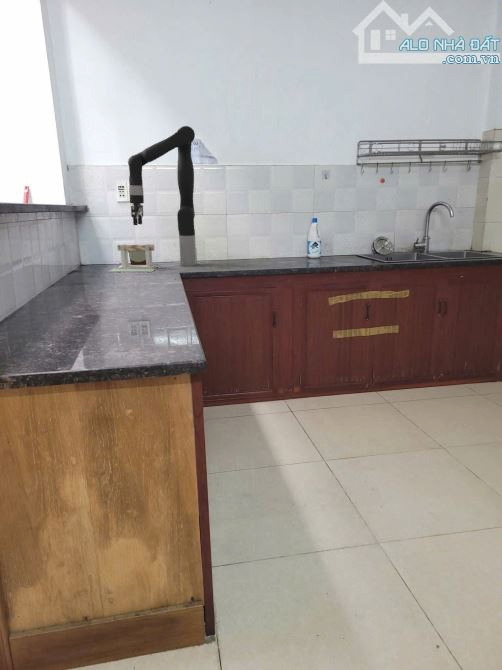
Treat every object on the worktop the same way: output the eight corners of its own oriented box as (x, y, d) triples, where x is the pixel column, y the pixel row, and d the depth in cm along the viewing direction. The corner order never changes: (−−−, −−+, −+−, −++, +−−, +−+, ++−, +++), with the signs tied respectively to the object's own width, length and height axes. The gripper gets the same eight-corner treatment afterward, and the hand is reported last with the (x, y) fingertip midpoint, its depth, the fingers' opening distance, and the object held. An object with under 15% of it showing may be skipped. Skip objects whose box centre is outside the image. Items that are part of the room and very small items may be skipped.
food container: (152, 264, 282) (151, 247, 279) (149, 266, 276) (147, 248, 273) (132, 264, 283) (130, 247, 280) (128, 265, 278) (127, 248, 275)
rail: (154, 250, 266) (153, 244, 265) (152, 250, 263) (152, 245, 263) (119, 250, 268) (119, 244, 267) (117, 250, 265) (117, 245, 264)
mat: (155, 269, 262) (155, 269, 262) (151, 272, 254) (151, 271, 254) (113, 269, 263) (113, 269, 263) (108, 272, 256) (108, 271, 256)
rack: (156, 267, 271) (154, 244, 267) (153, 269, 264) (151, 245, 261) (122, 267, 272) (120, 244, 269) (118, 269, 266) (116, 245, 262)
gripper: (139, 194, 252) (140, 225, 256) (146, 194, 265) (148, 224, 270) (125, 194, 252) (127, 225, 257) (133, 194, 266) (135, 223, 270)
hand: (137, 224), depth 263 cm, fingers open, 8 cm apart
